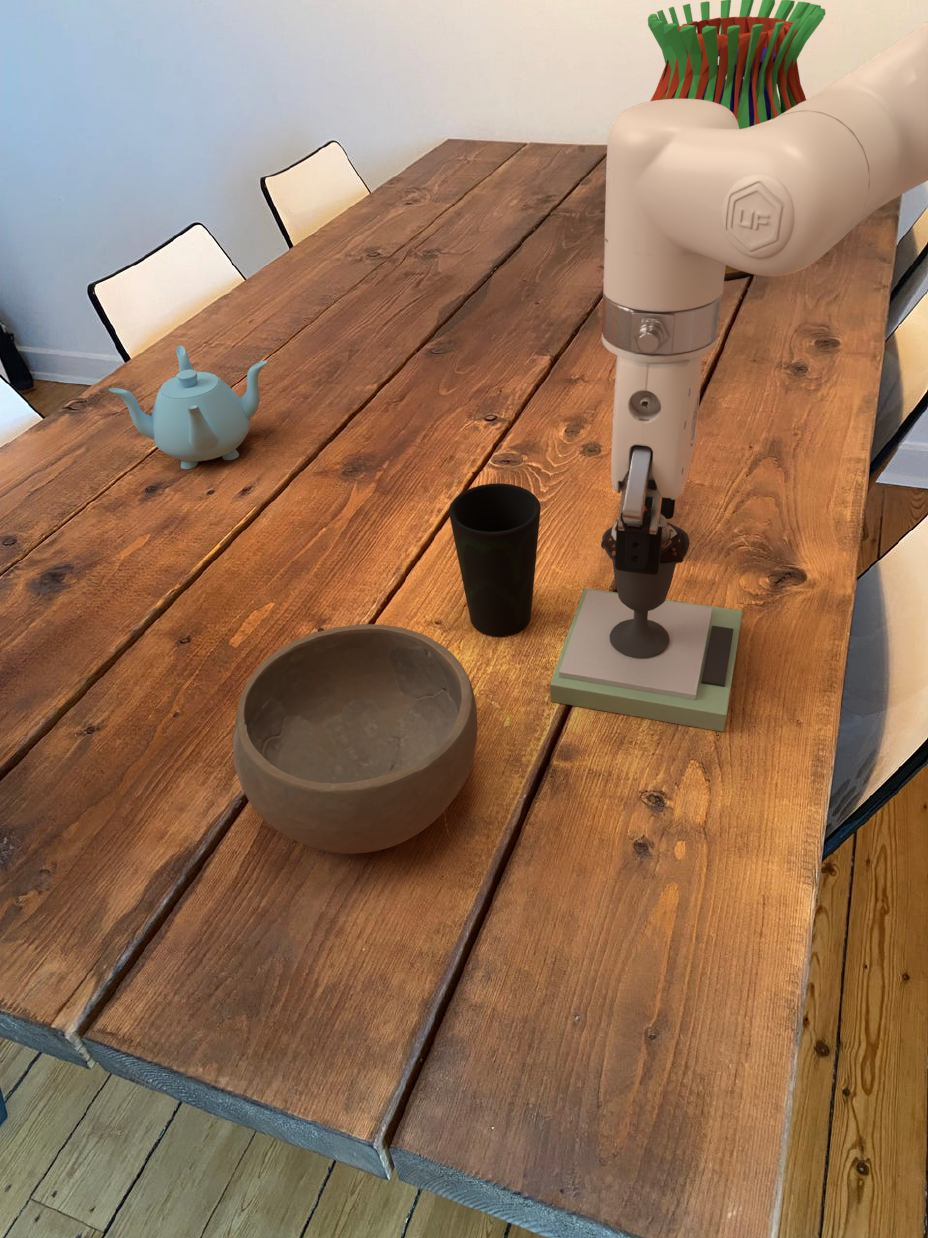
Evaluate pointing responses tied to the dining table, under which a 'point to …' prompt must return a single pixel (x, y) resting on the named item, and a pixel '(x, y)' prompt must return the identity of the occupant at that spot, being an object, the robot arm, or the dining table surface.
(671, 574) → the sundae
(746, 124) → the vase
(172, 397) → the teapot
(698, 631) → the scale
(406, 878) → the dining table surface
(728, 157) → the robot arm
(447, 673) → the bowl
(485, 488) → the cup
